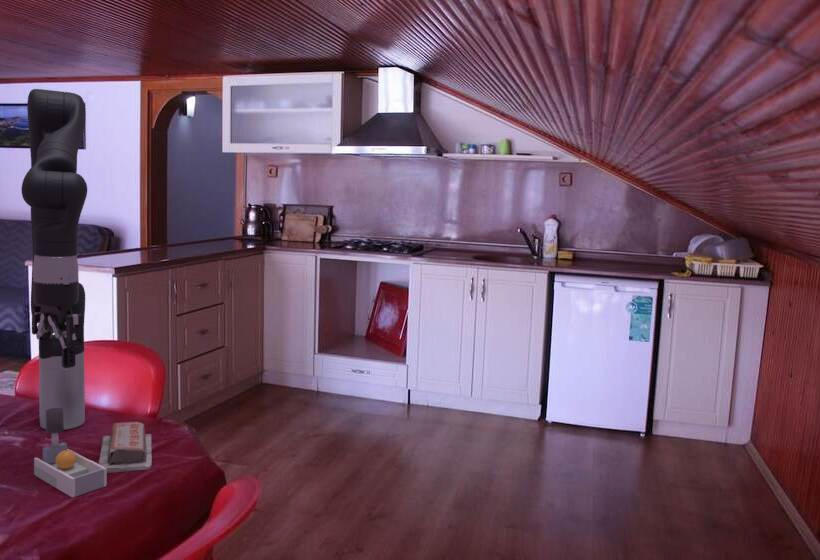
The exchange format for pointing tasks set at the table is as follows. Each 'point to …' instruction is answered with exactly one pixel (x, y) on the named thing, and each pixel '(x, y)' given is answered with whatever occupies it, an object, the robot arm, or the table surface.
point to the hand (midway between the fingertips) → (57, 362)
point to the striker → (54, 434)
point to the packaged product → (126, 448)
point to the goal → (82, 480)
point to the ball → (65, 459)
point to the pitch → (50, 470)
